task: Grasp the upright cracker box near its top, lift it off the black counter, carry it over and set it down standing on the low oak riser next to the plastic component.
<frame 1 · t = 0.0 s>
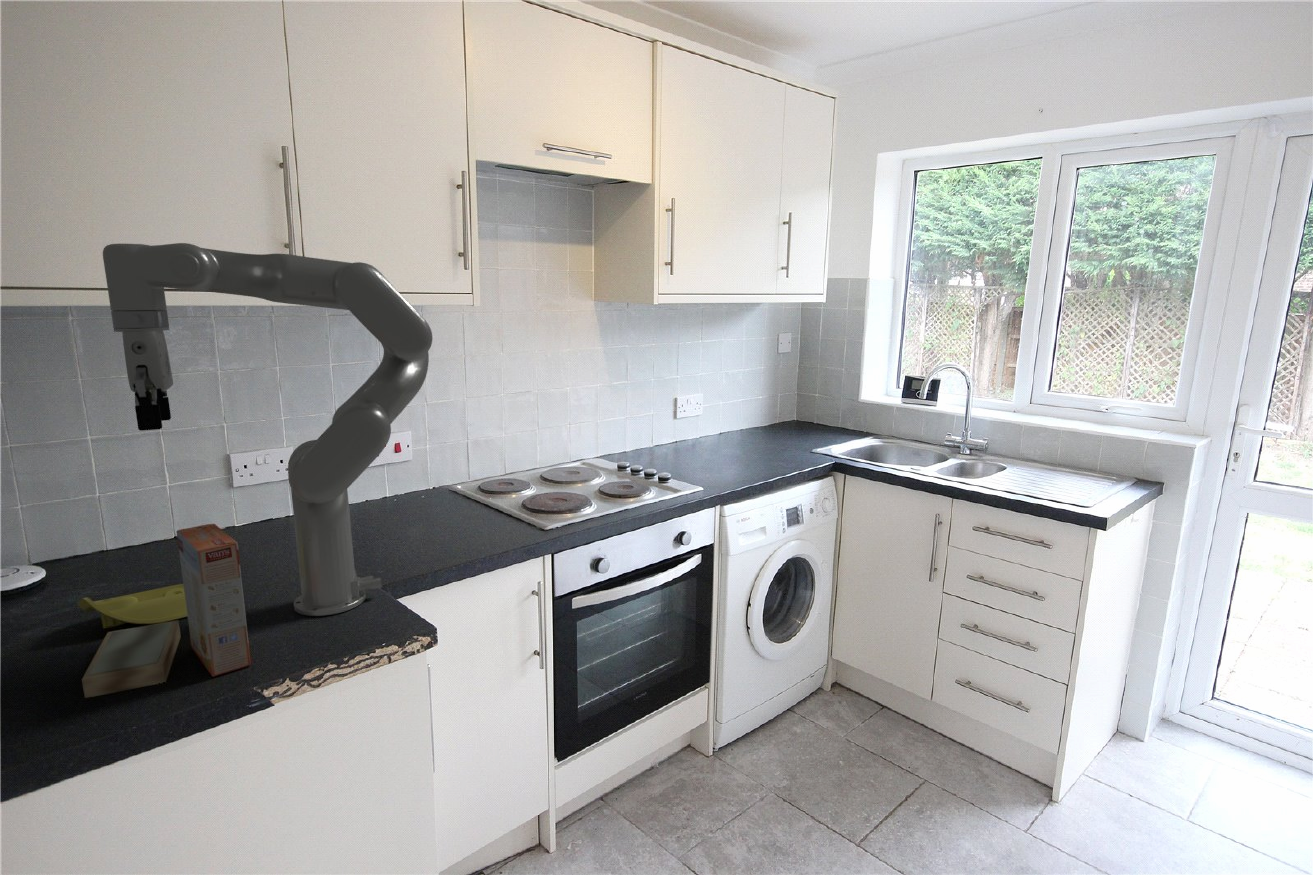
hand: (155, 424, 123), 37 cm above the worktop, tool pointing down, fingers open, 9 cm apart
plastic component: (152, 617, 135), on the worktop
stand: (136, 664, 117), on the worktop
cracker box: (221, 657, 119), on the worktop
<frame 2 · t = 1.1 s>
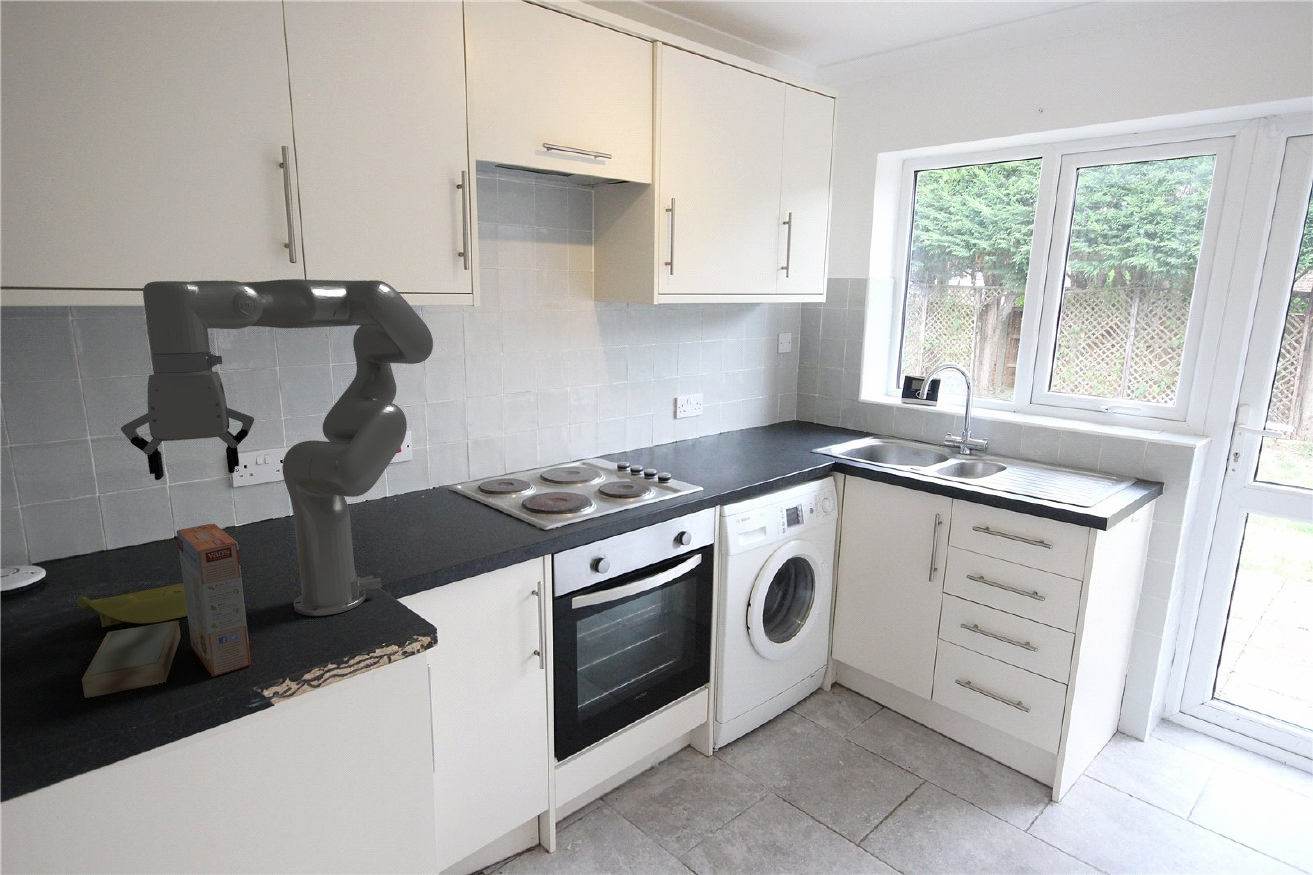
hand: (196, 474, 113), 31 cm above the worktop, tool pointing down, fingers open, 9 cm apart
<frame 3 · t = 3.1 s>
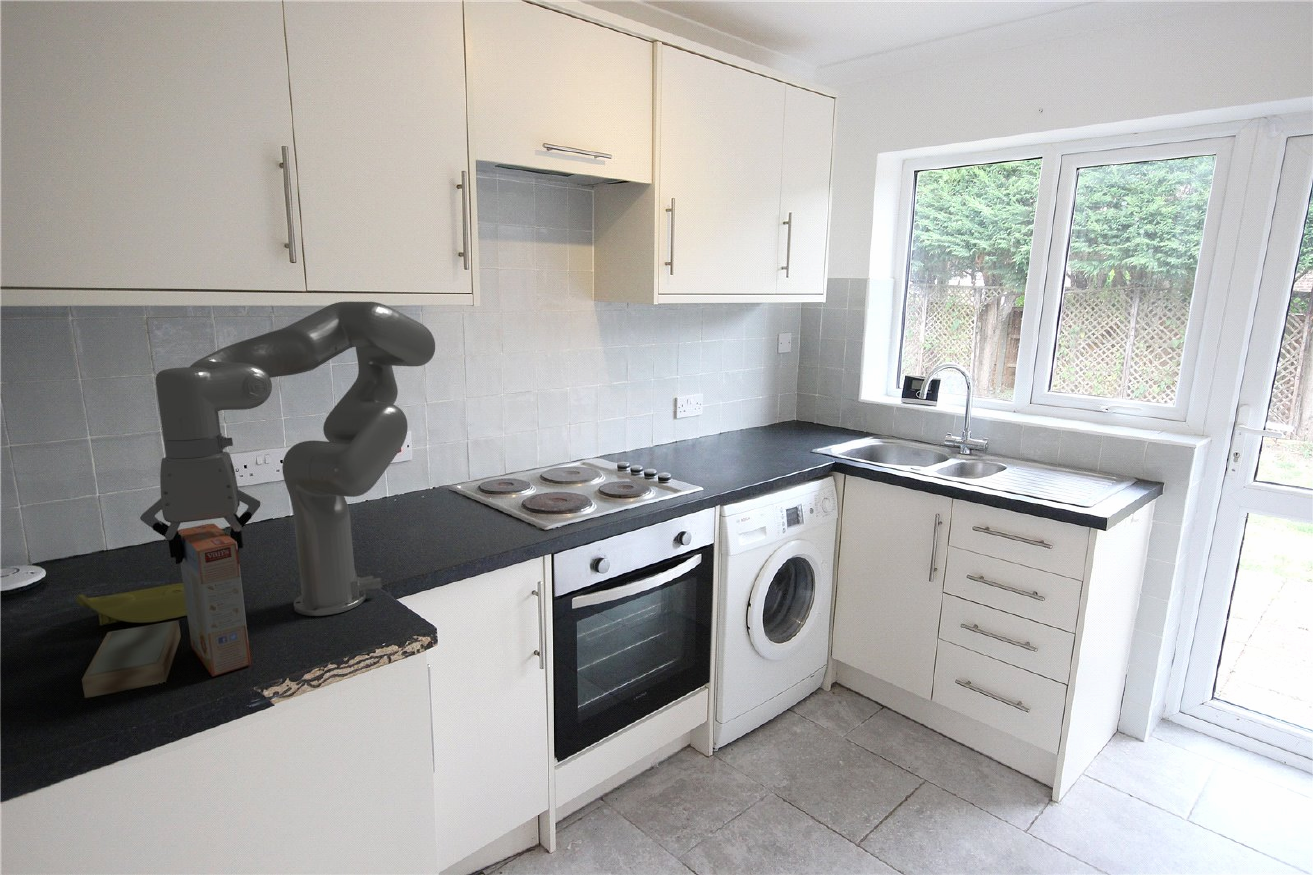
hand: (208, 556, 116), 17 cm above the worktop, tool pointing down, fingers closed on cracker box, 7 cm apart
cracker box: (221, 657, 119), on the worktop, touching gripper
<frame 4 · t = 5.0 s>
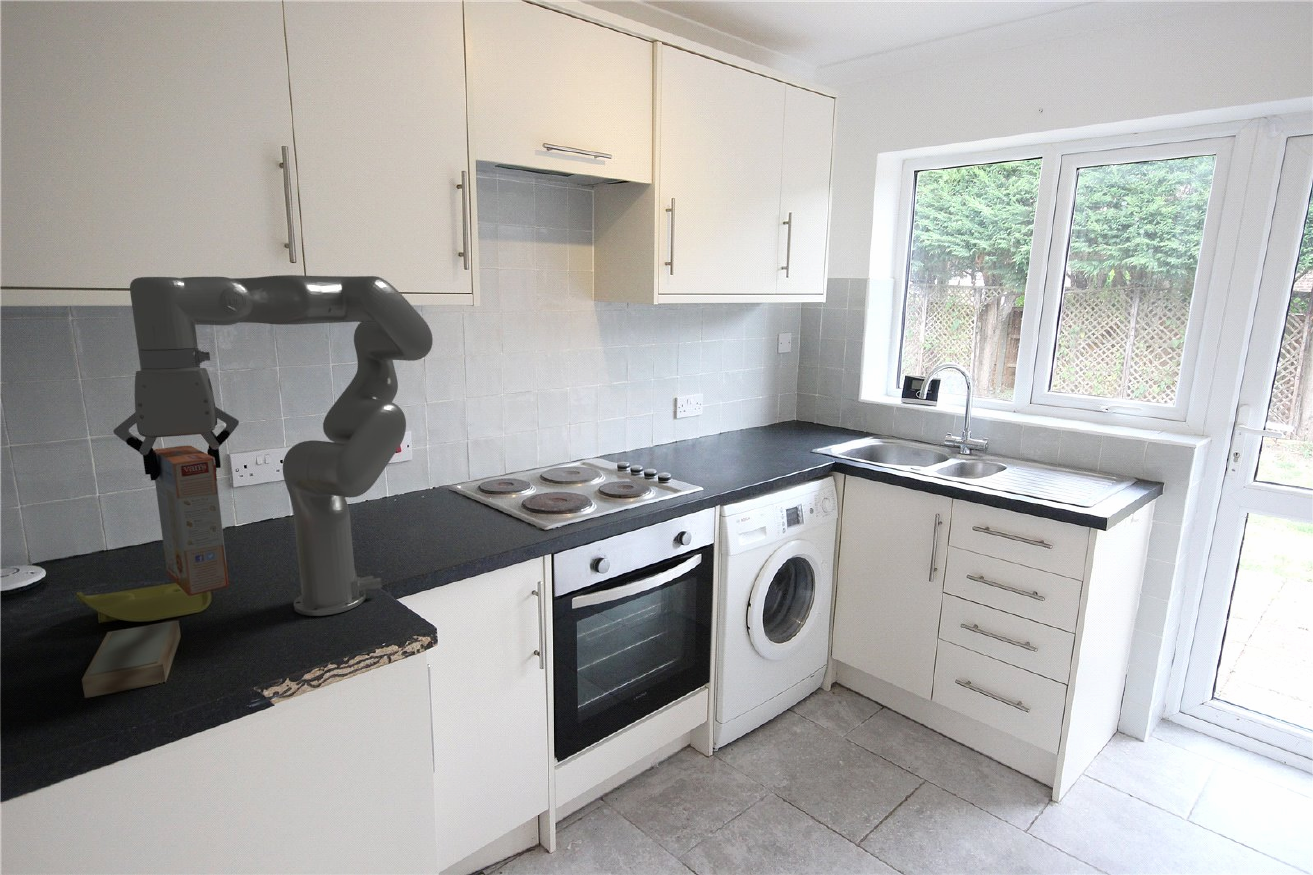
hand: (184, 474, 113), 31 cm above the worktop, tool pointing down, fingers closed on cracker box, 7 cm apart
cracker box: (198, 581, 116), point 13 cm above the worktop, touching gripper
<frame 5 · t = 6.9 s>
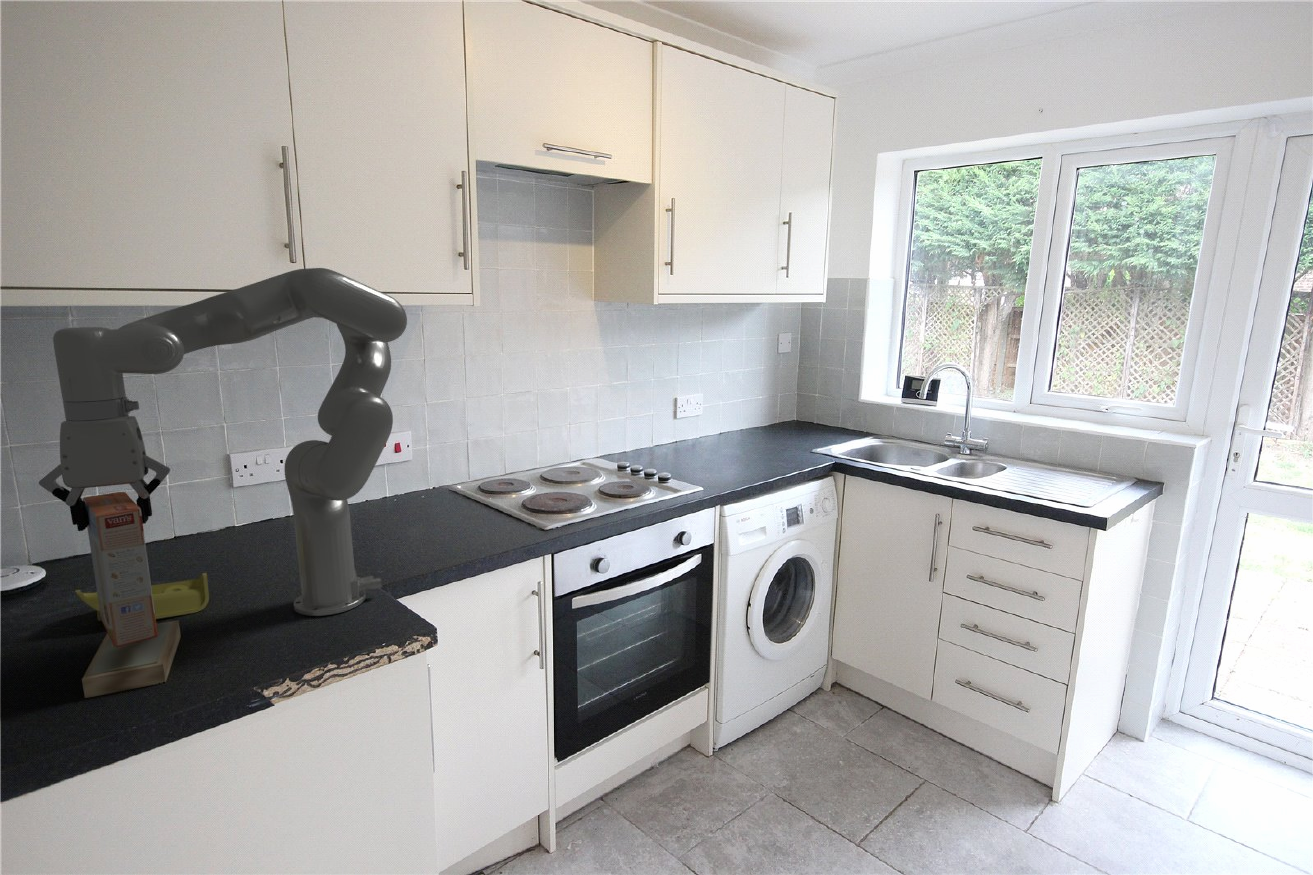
hand: (114, 524, 112), 24 cm above the worktop, tool pointing down, fingers closed on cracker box, 7 cm apart
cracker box: (130, 629, 116), point 6 cm above the worktop, touching gripper
when the fingers open (21 cm above the worktop, at t = 8.3 s): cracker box stays where it is, resting on stand.
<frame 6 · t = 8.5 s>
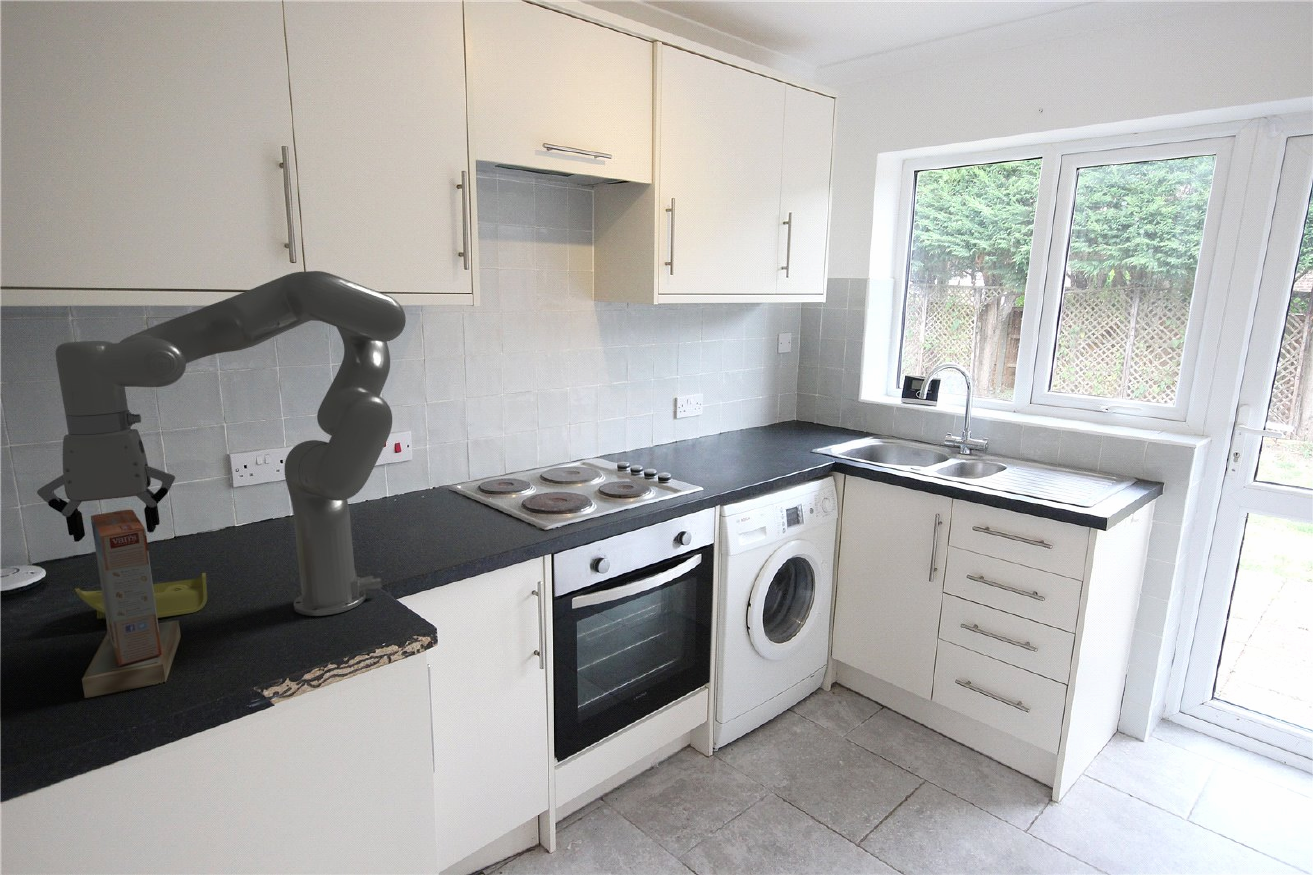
hand: (116, 534, 113), 22 cm above the worktop, tool pointing down, fingers open, 8 cm apart
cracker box: (136, 647, 116), point 3 cm above the worktop, touching stand
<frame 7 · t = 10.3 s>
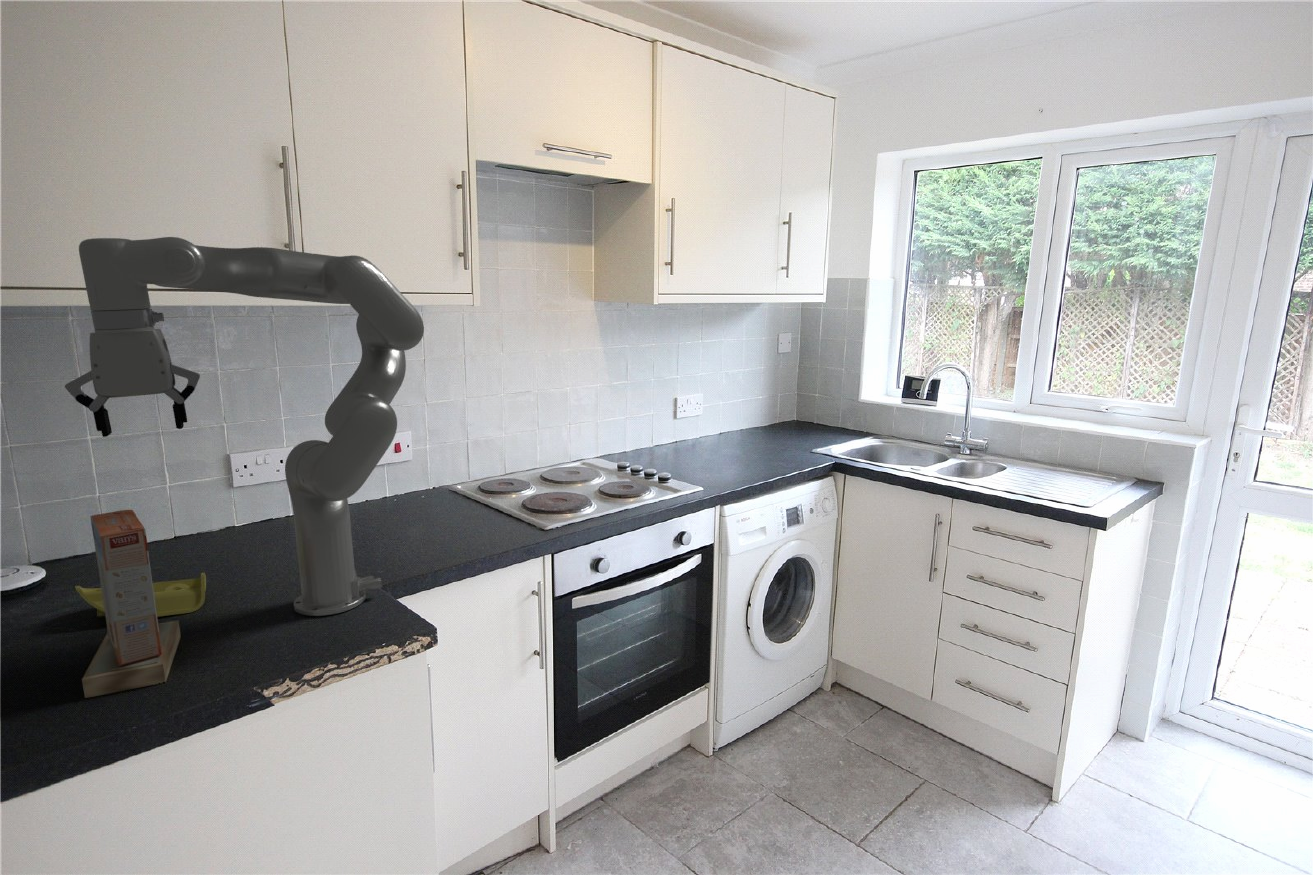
hand: (144, 431, 115), 37 cm above the worktop, tool pointing down, fingers open, 9 cm apart
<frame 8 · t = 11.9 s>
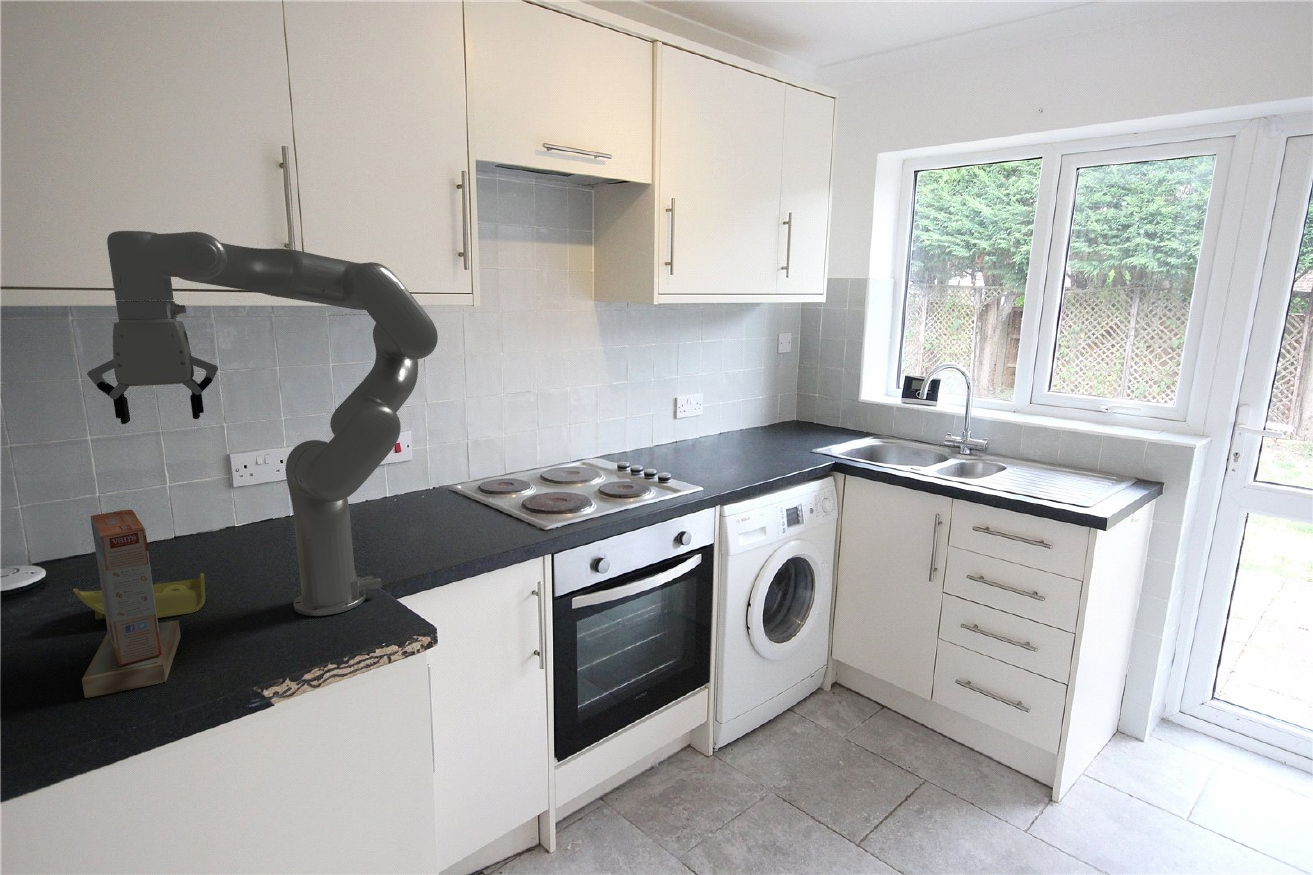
hand: (161, 420, 118), 38 cm above the worktop, tool pointing down, fingers open, 9 cm apart
at the end: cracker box inside the target area on the stand (0.2 cm from its centre), point 3.0 cm above the stand's base; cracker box tilted 0°; the gripper is holding nothing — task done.
